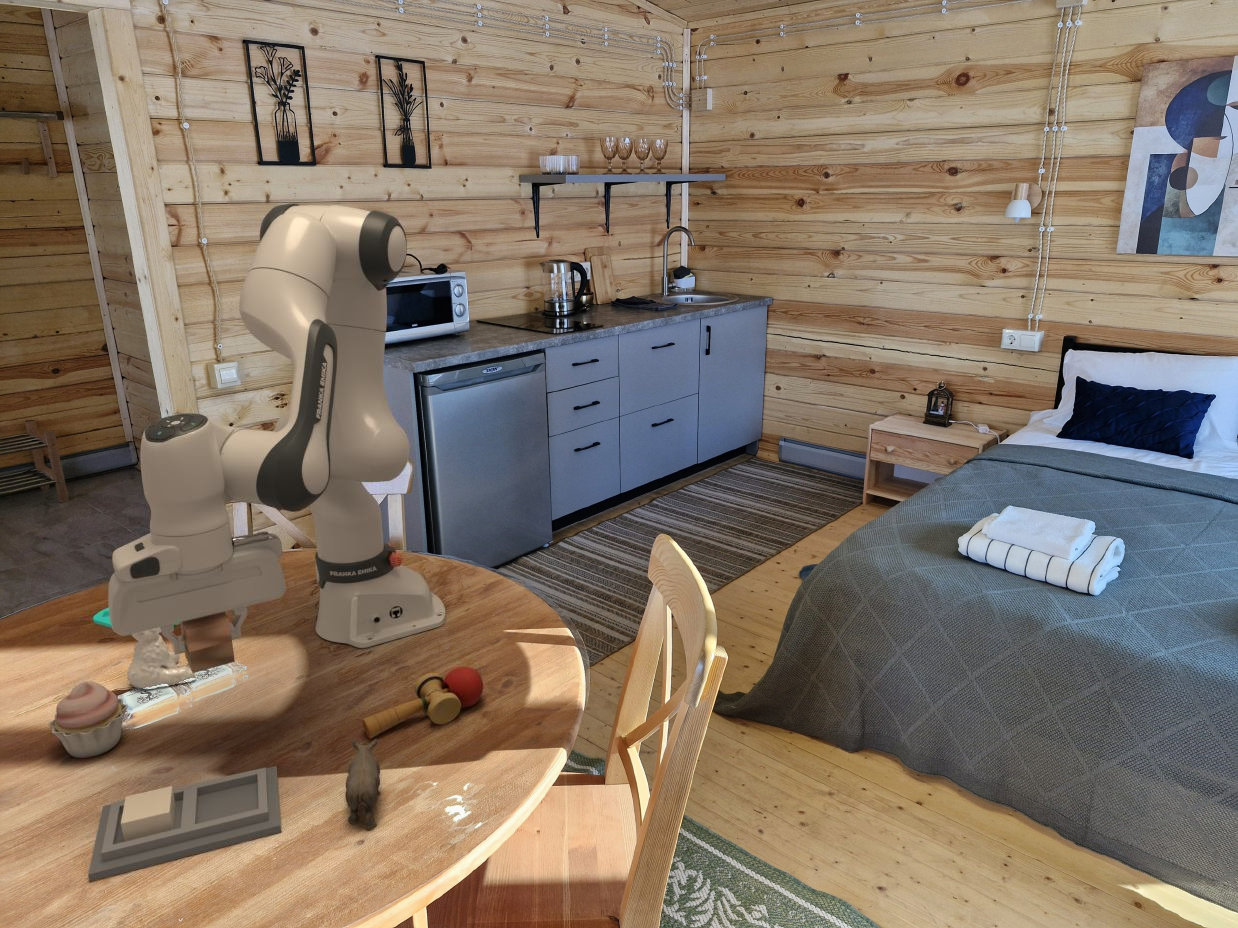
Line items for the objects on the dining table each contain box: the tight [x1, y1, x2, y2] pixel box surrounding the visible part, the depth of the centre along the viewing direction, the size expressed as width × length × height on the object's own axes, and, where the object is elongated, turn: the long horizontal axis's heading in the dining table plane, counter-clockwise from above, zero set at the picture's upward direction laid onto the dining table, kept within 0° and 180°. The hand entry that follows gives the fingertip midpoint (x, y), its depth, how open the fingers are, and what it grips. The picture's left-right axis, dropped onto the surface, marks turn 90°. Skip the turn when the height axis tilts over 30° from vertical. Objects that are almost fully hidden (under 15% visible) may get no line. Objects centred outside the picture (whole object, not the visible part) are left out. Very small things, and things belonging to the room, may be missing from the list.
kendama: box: [361, 666, 484, 740], centre depth 124 cm, size 8×6×18 cm
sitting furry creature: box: [126, 628, 196, 689], centre depth 132 cm, size 10×9×12 cm
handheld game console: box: [92, 606, 180, 634], centre depth 153 cm, size 10×16×1 cm, turn 66°
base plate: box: [88, 765, 283, 882], centre depth 103 cm, size 20×12×4 cm, turn 113°
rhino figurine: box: [344, 738, 381, 831], centre depth 108 cm, size 4×14×6 cm, turn 13°
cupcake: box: [47, 680, 129, 759], centre depth 116 cm, size 9×9×10 cm
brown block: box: [179, 611, 236, 674], centre depth 110 cm, size 5×5×6 cm
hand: (207, 644), depth 110 cm, fingers closed on brown block, 5 cm apart
